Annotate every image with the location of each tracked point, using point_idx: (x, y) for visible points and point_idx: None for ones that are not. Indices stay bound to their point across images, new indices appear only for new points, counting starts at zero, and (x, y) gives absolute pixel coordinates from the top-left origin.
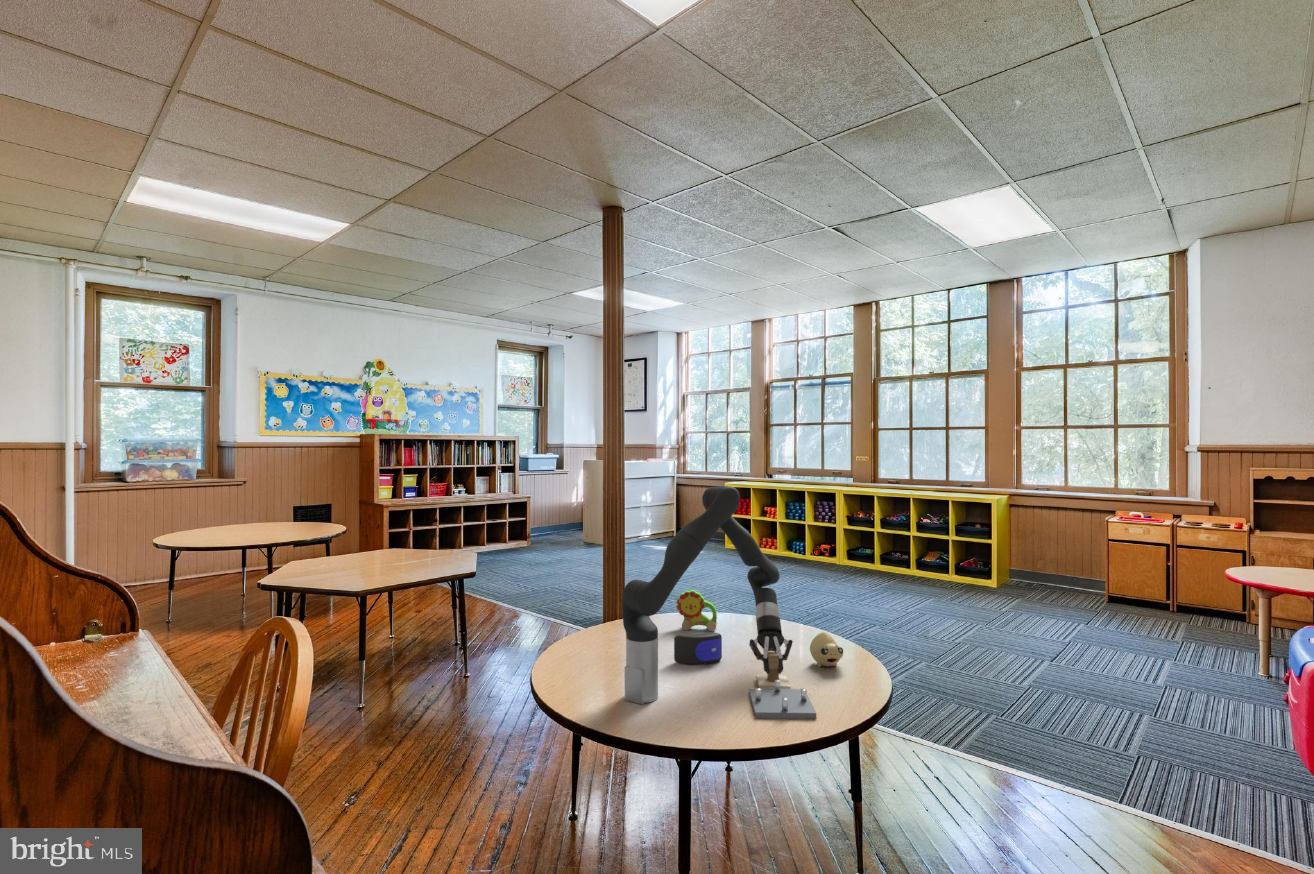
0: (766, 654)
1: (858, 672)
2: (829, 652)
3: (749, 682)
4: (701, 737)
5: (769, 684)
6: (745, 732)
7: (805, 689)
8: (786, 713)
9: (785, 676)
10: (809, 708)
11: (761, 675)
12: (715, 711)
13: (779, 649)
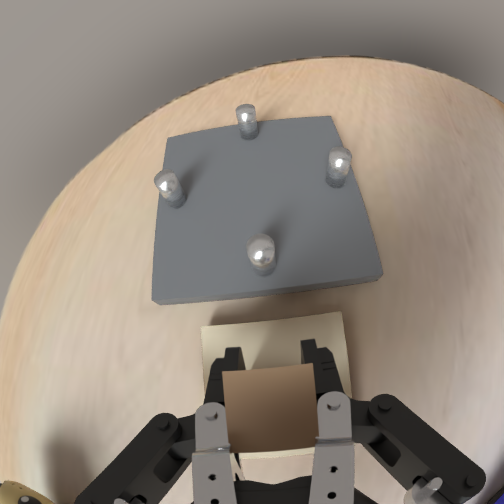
0: (326, 419)
1: (15, 459)
2: (19, 491)
3: None
4: (404, 78)
5: (297, 336)
6: (338, 85)
7: (157, 180)
8: None
9: None
10: (176, 155)
11: None
12: (430, 152)
13: (202, 453)
